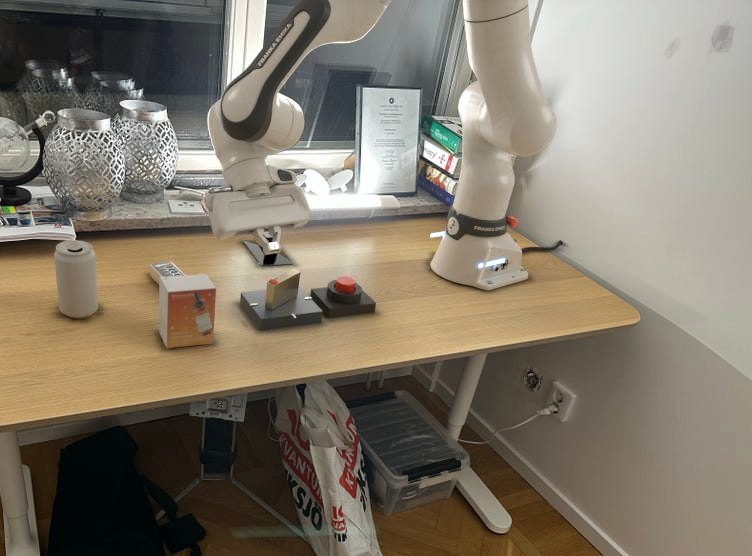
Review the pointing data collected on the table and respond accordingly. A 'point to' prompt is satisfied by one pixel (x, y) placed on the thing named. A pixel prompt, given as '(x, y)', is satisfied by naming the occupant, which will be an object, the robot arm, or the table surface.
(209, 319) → the small box
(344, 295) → the button box
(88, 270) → the beverage can
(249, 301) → the dial panel
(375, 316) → the table surface
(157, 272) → the multiport hub
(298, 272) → the pointer
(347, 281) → the button
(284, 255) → the build plate
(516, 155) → the robot arm
